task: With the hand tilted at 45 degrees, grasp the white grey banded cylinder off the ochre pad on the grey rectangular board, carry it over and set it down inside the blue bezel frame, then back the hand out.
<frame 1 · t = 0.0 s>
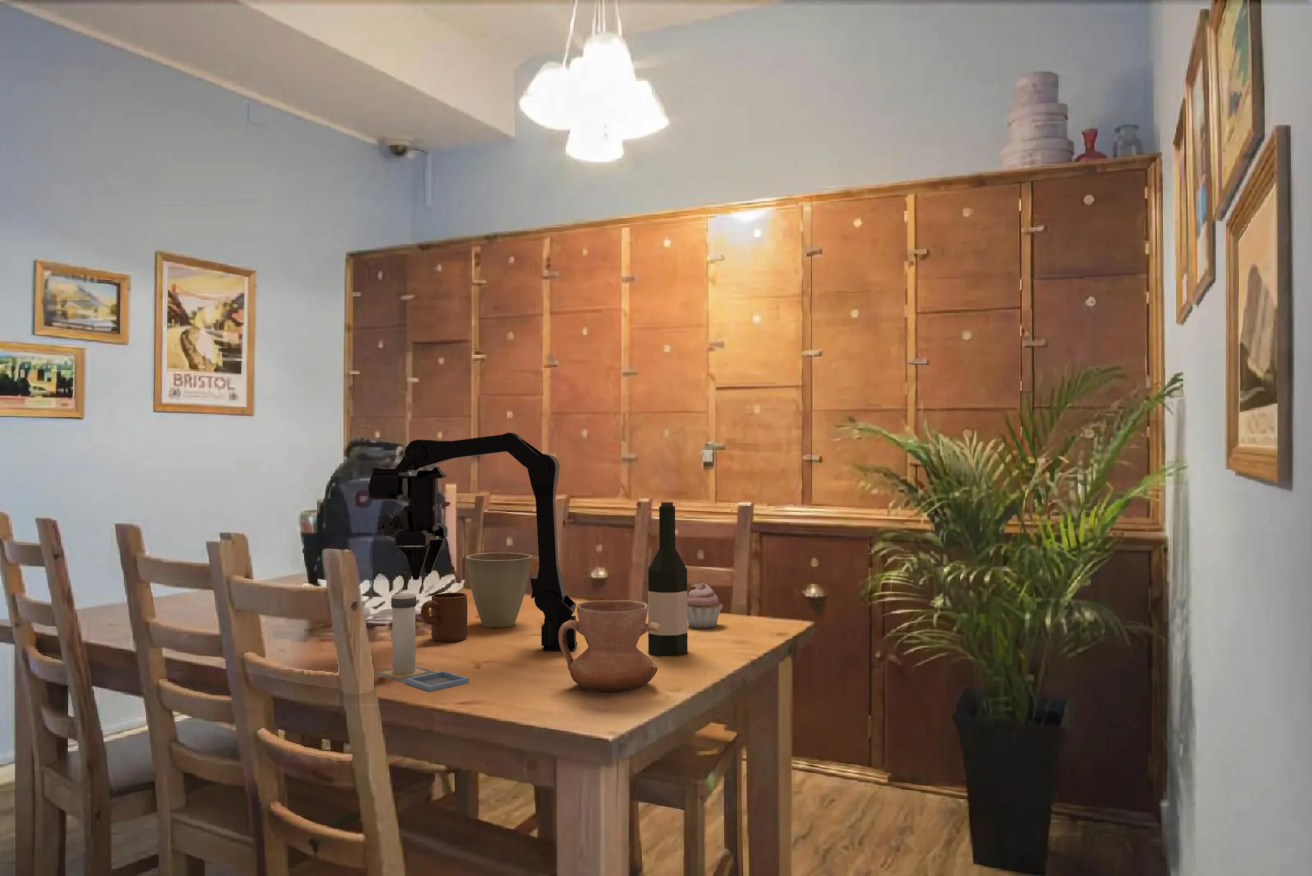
hand: (422, 576, 185), 15 cm above the table, tool pointing down, fingers open, 9 cm apart
cupcake: (702, 627, 206), on the table
mug: (442, 641, 192), on the table
plant pot: (499, 625, 209), on the table
ceramic jug: (609, 688, 155), on the table
white grey banded cylinder: (403, 672, 164), resting on grey rectangular board
grey rectangular board: (420, 679, 160), on the table
wine bottle: (667, 653, 180), on the table
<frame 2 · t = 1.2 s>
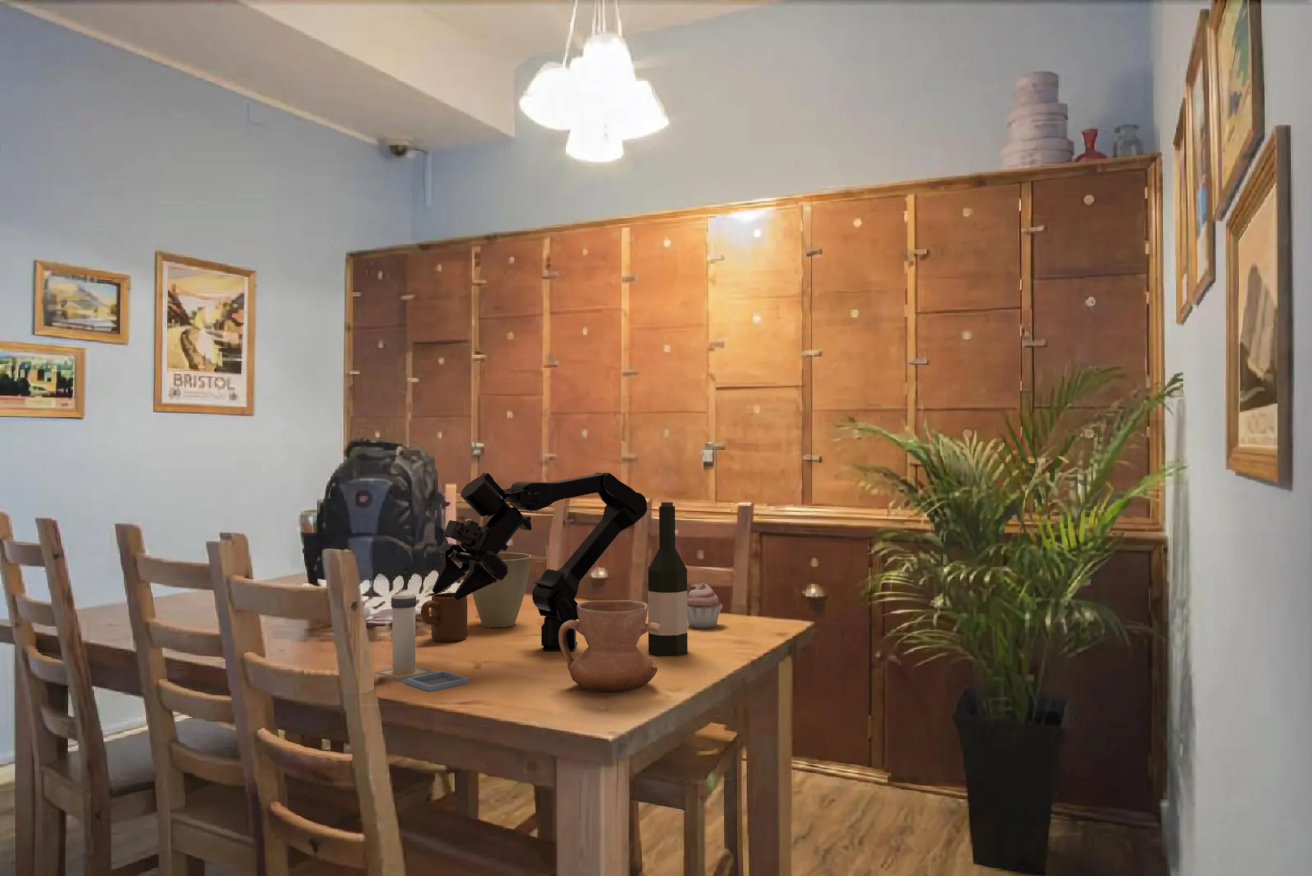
hand: (444, 595, 169), 13 cm above the table, tool tilted 45°, fingers open, 9 cm apart
nothing on the table moved.
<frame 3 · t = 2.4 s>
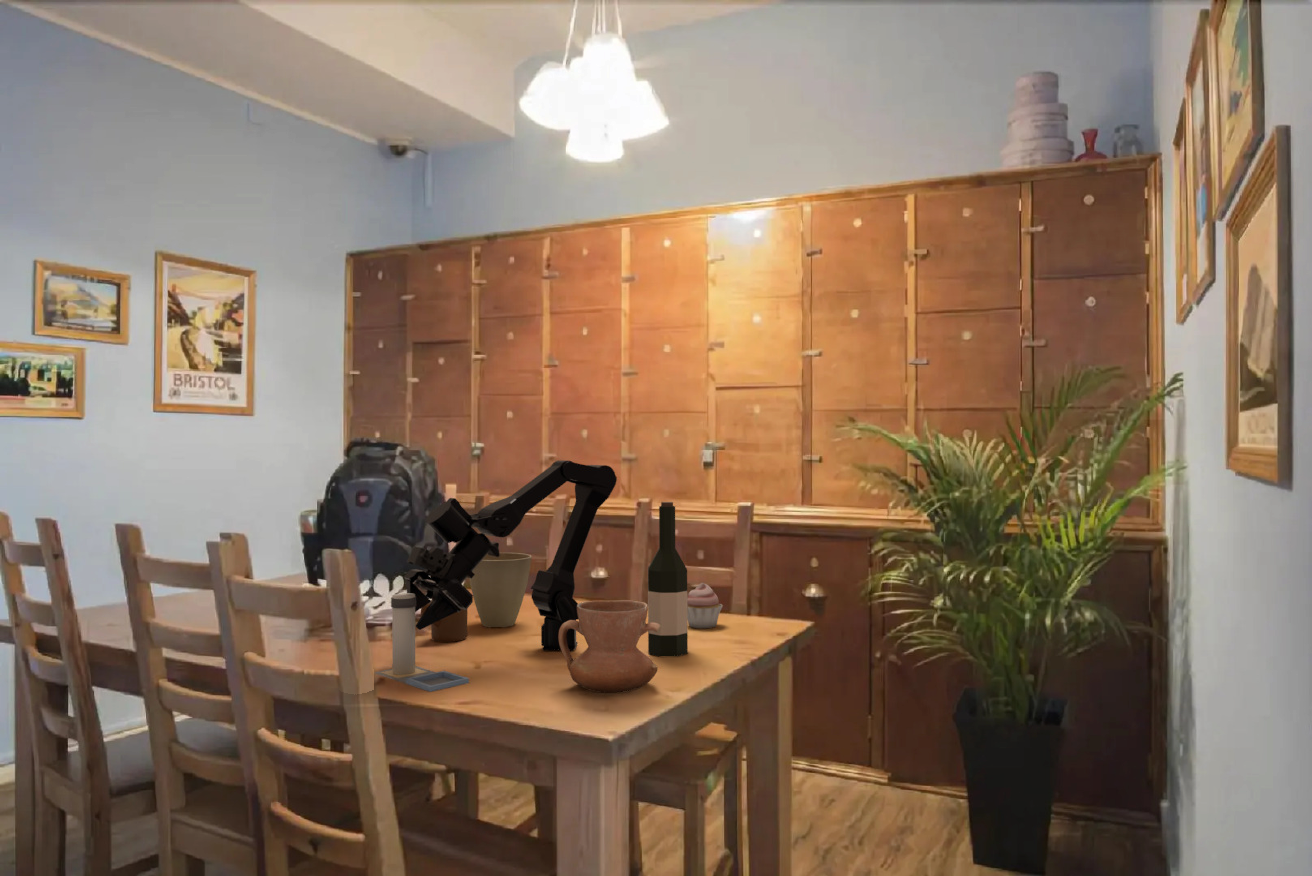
hand: (407, 624, 164), 9 cm above the table, tool tilted 45°, fingers open, 9 cm apart
nothing on the table moved.
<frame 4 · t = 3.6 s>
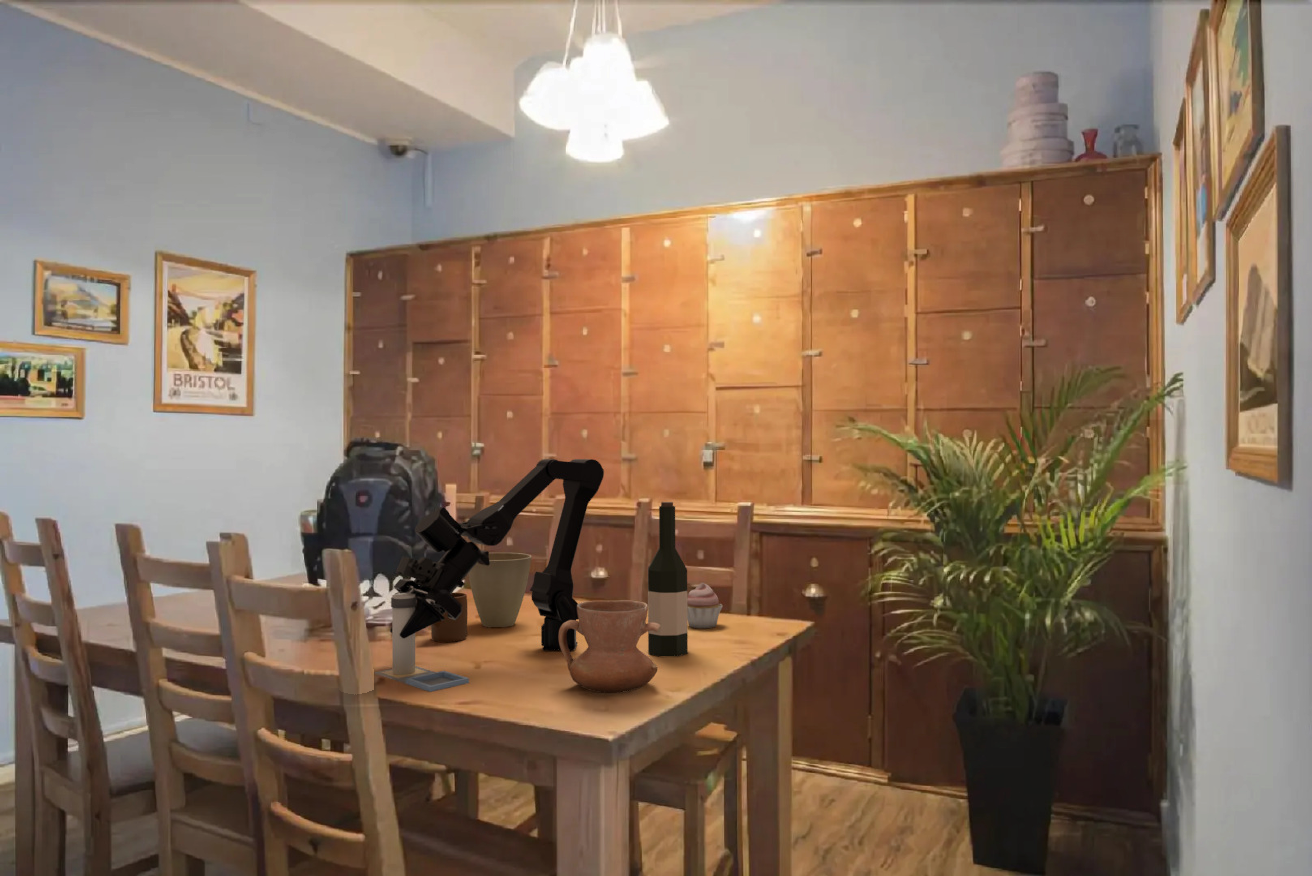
hand: (396, 634, 163), 7 cm above the table, tool tilted 45°, fingers closed on white grey banded cylinder, 4 cm apart
white grey banded cylinder: (403, 672, 164), resting on grey rectangular board, touching gripper
everything else where it was.
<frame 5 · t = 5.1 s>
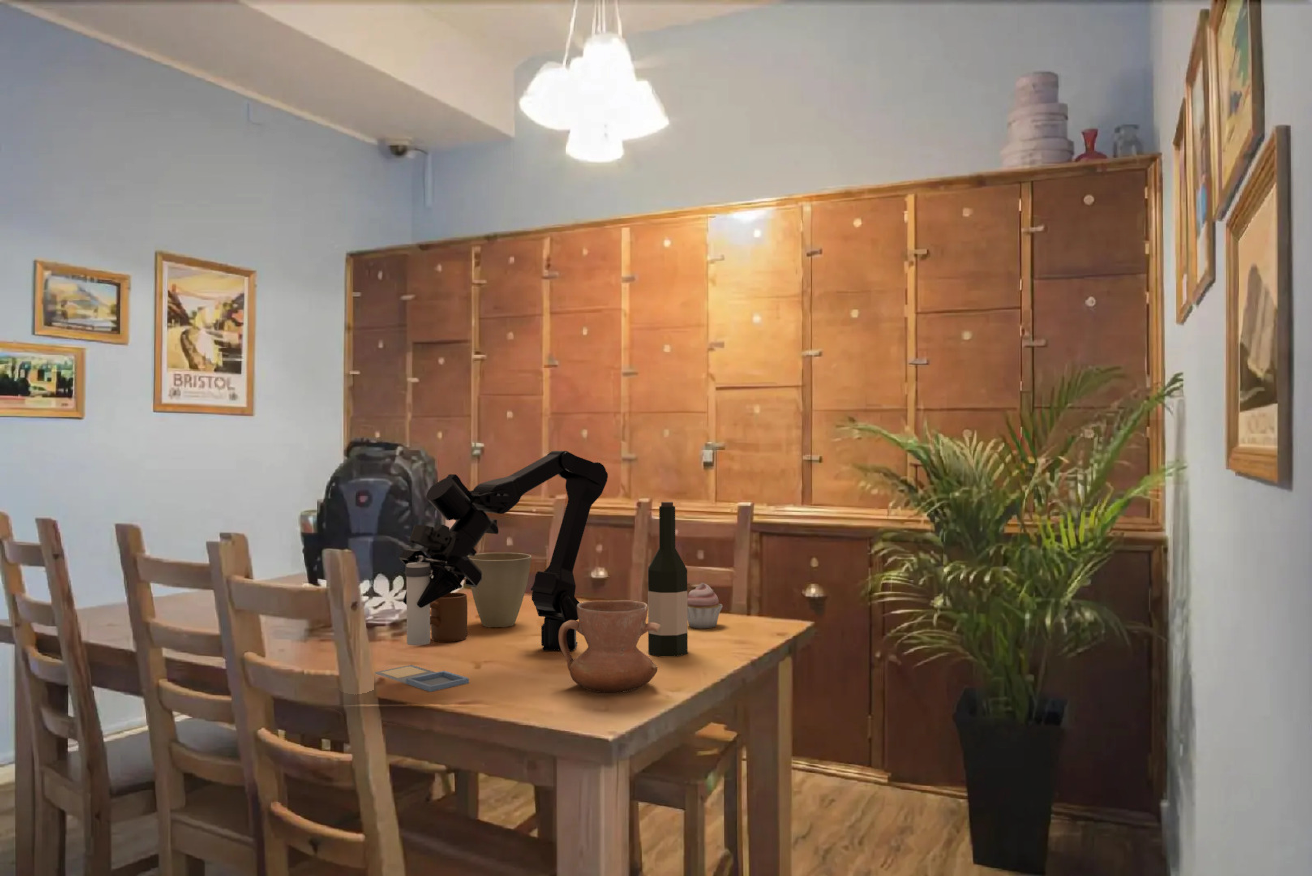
hand: (411, 604, 159), 13 cm above the table, tool tilted 45°, fingers closed on white grey banded cylinder, 4 cm apart
white grey banded cylinder: (418, 642, 160), point 7 cm above the table, touching gripper
everything else where it was.
when the fingers open (9 cm above the table, at t = 6.9 s): white grey banded cylinder drops 1 cm, resting on grey rectangular board.
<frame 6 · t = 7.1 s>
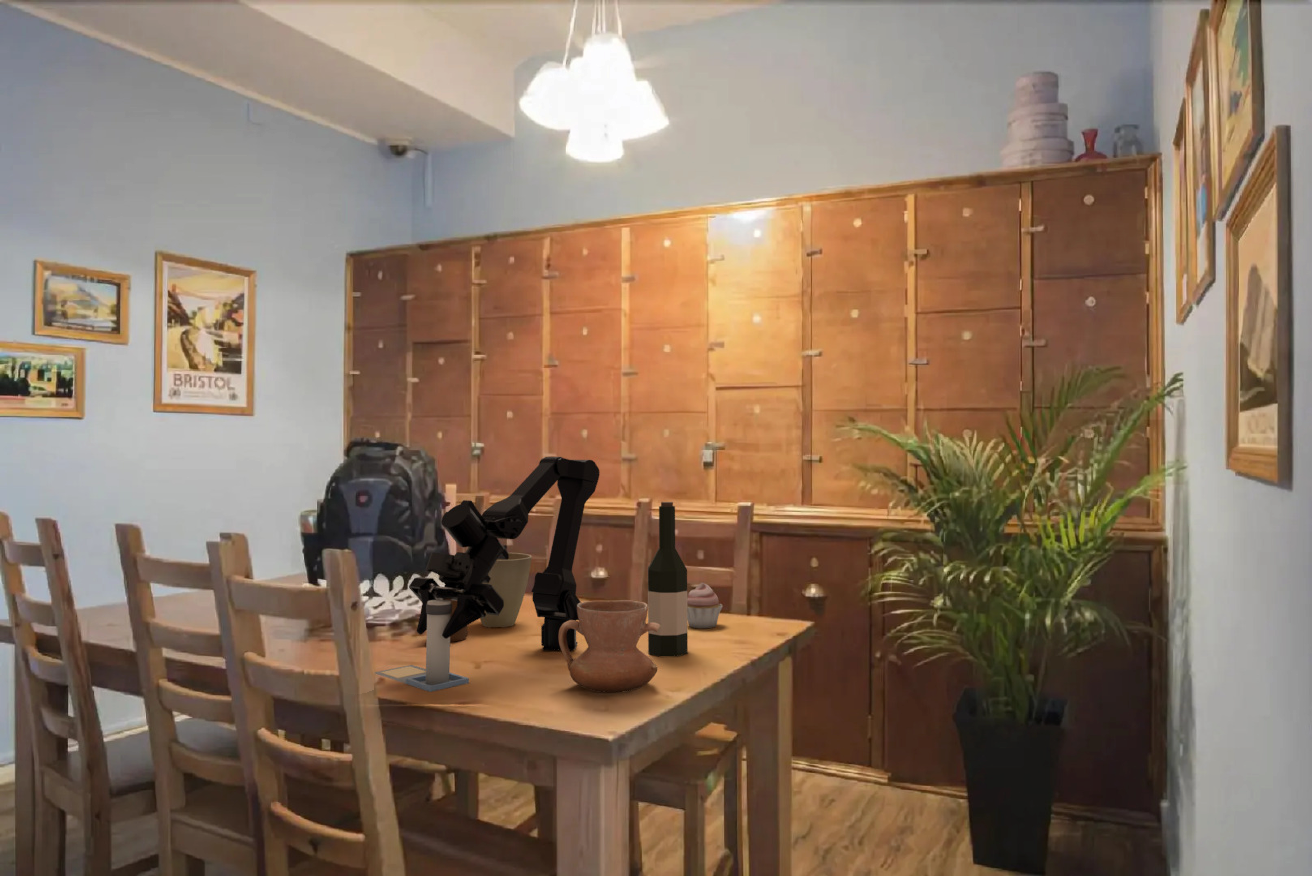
hand: (431, 635, 155), 9 cm above the table, tool tilted 45°, fingers open, 6 cm apart
white grey banded cylinder: (437, 682, 156), resting on grey rectangular board
everything else where it was.
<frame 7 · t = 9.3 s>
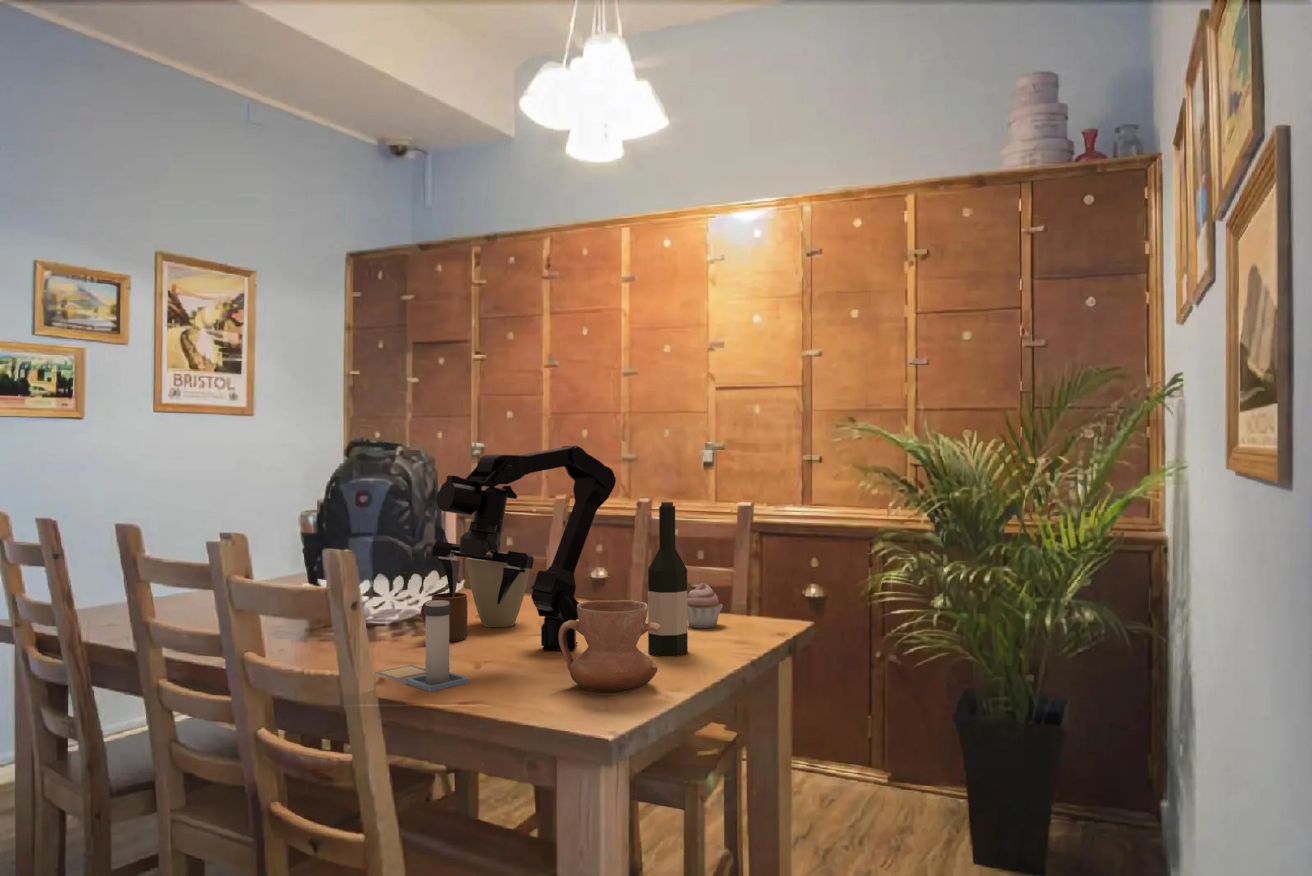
hand: (475, 600, 171), 12 cm above the table, tool pointing down, fingers open, 9 cm apart
nothing on the table moved.
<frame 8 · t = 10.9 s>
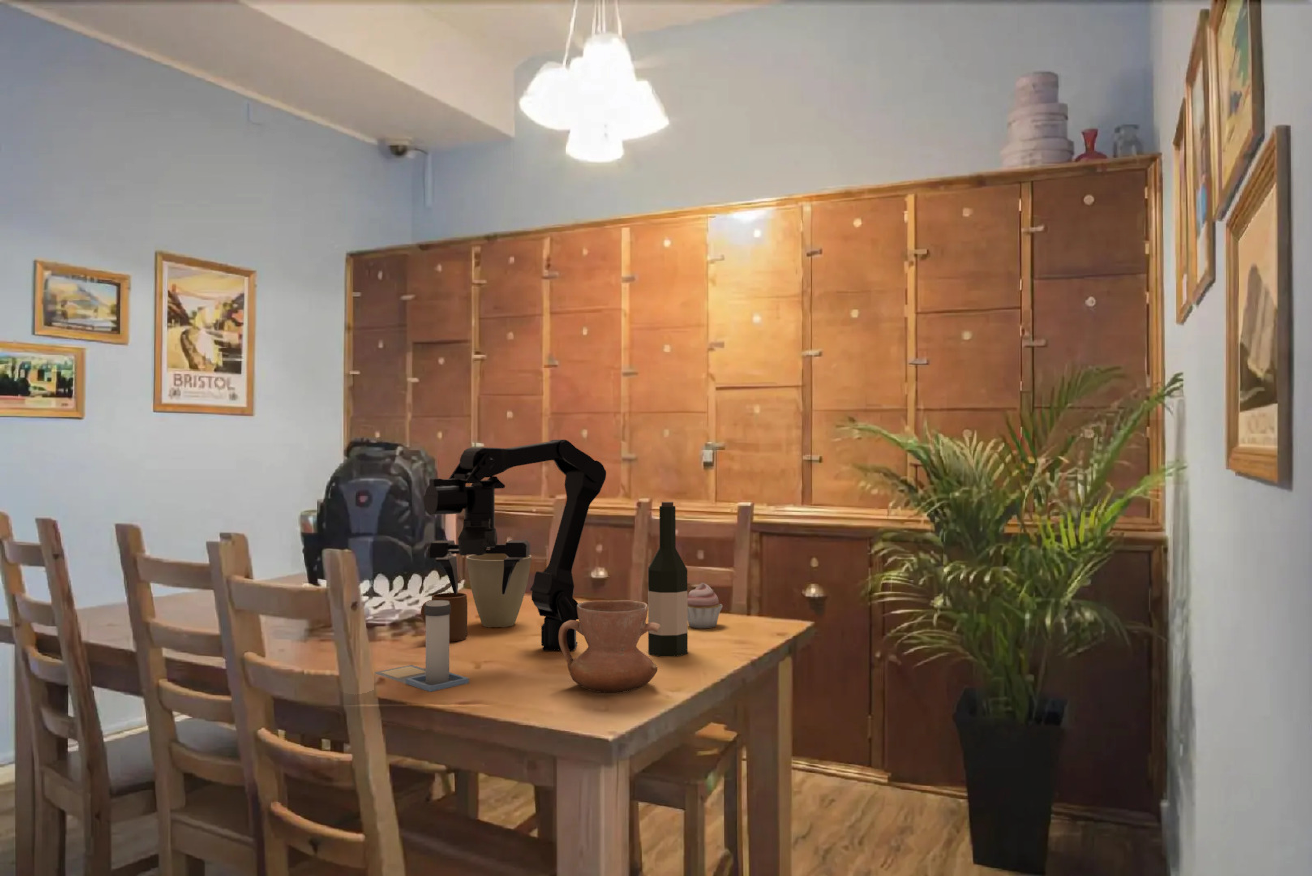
hand: (479, 594, 173), 13 cm above the table, tool pointing down, fingers open, 9 cm apart
nothing on the table moved.
at the end: white grey banded cylinder 0.0 cm from the target spot, resting on grey rectangular board; white grey banded cylinder tilted 0°; the gripper is holding nothing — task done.
